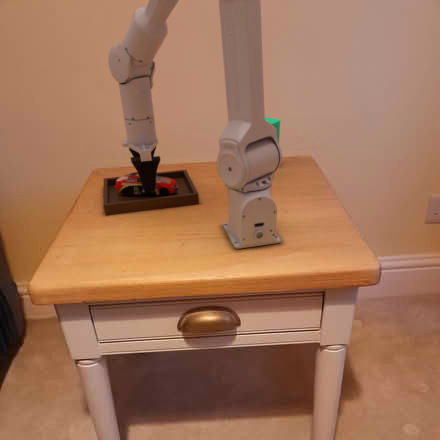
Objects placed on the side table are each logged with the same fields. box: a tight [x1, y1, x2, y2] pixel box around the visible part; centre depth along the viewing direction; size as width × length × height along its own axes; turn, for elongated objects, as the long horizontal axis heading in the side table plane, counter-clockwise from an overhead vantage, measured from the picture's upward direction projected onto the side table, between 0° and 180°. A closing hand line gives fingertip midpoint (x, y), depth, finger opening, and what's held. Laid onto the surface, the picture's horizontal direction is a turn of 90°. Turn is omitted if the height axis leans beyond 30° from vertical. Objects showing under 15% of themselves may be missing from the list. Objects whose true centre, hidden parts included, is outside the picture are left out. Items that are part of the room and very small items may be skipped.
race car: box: [115, 171, 178, 196], centre depth 89 cm, size 13×5×4 cm, turn 82°
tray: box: [103, 169, 200, 216], centre depth 90 cm, size 16×19×2 cm
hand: (148, 185), depth 89 cm, fingers closed on race car, 6 cm apart
